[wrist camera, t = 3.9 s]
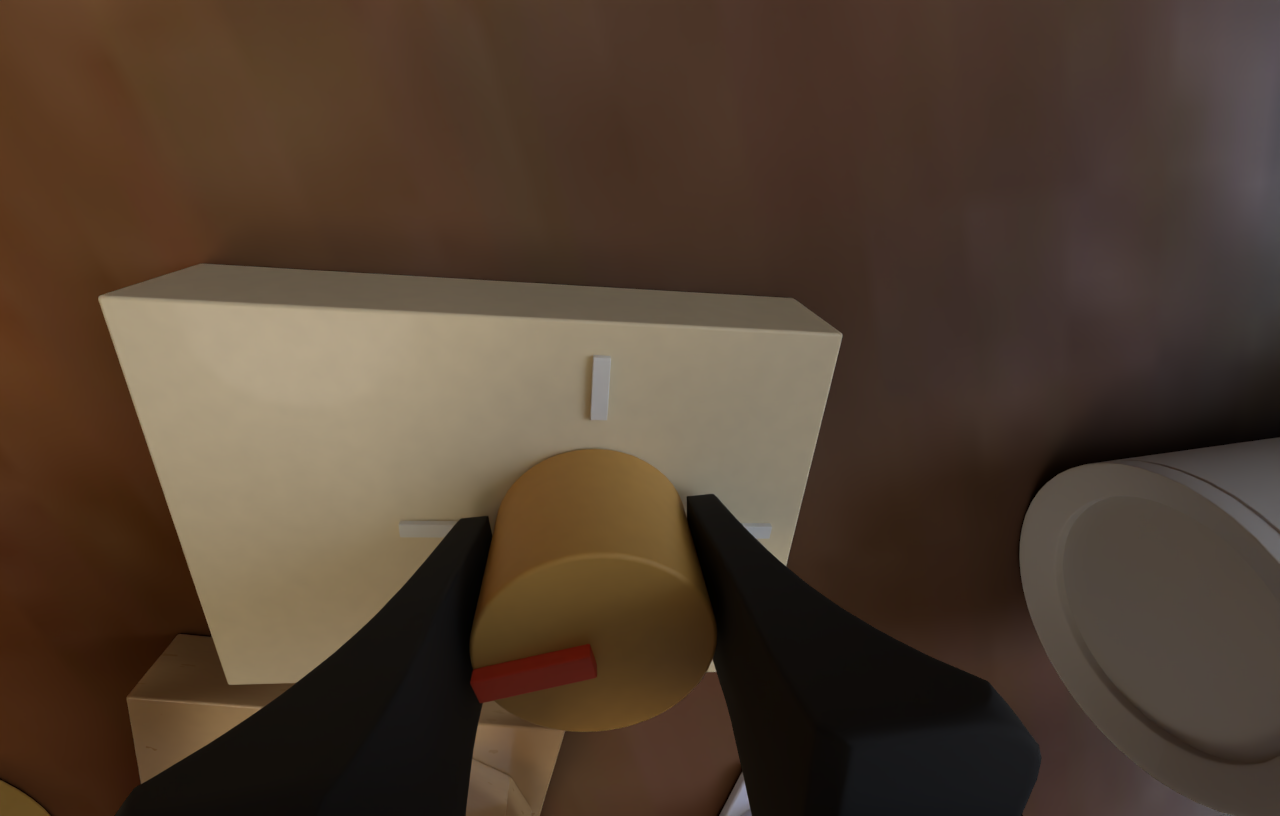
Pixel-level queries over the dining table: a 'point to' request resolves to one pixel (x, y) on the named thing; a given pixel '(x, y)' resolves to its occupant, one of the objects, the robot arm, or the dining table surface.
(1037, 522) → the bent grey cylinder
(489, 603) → the dimmer knob
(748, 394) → the dimmer panel
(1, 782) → the bracelet display stand
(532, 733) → the switch box
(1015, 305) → the dining table surface
